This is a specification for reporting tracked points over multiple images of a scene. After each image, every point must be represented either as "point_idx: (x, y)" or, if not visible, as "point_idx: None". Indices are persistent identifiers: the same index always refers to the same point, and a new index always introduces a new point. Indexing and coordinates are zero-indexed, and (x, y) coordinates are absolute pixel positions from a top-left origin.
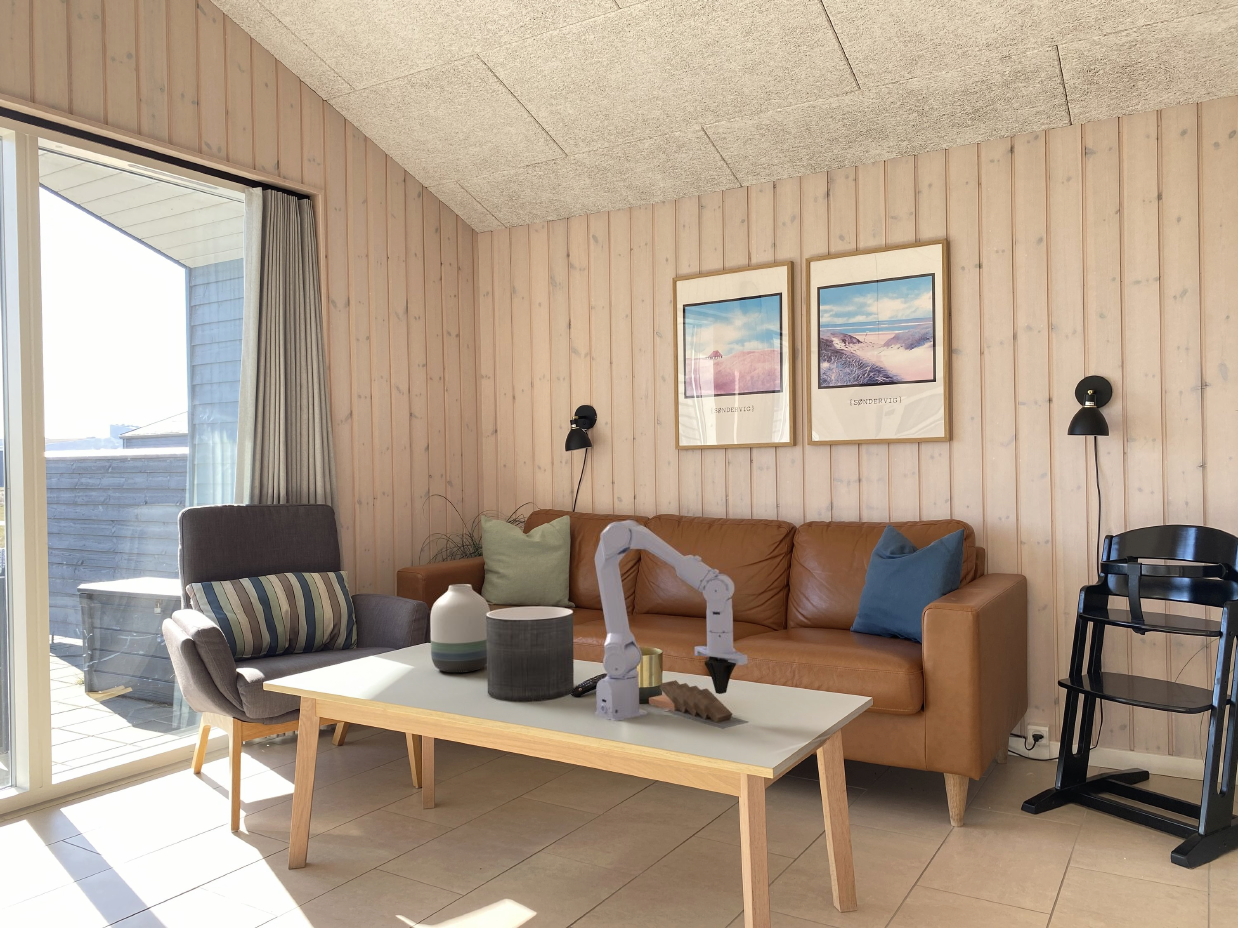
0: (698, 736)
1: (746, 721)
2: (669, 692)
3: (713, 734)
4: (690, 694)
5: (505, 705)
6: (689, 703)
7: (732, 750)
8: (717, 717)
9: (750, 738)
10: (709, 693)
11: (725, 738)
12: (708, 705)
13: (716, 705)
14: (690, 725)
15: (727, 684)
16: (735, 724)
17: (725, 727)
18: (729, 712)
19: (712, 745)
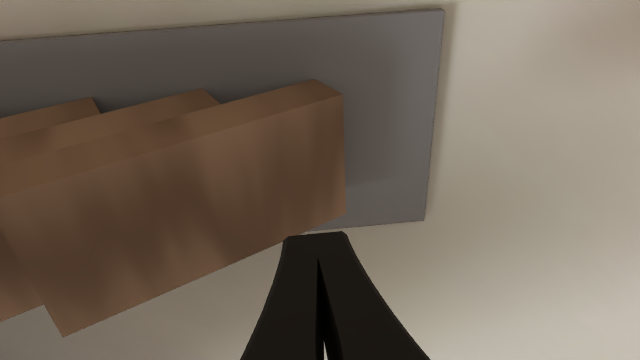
0: (410, 330)
1: (427, 24)
2: None
3: (437, 279)
4: (16, 295)
5: None
6: None
7: (624, 326)
8: (339, 212)
9: (614, 199)
10: (83, 198)
11: (516, 274)
12: (239, 246)
13: (247, 187)
14: (253, 281)
15: (372, 286)
16: (419, 125)
17: (419, 201)
18: (329, 113)
19: (528, 344)
